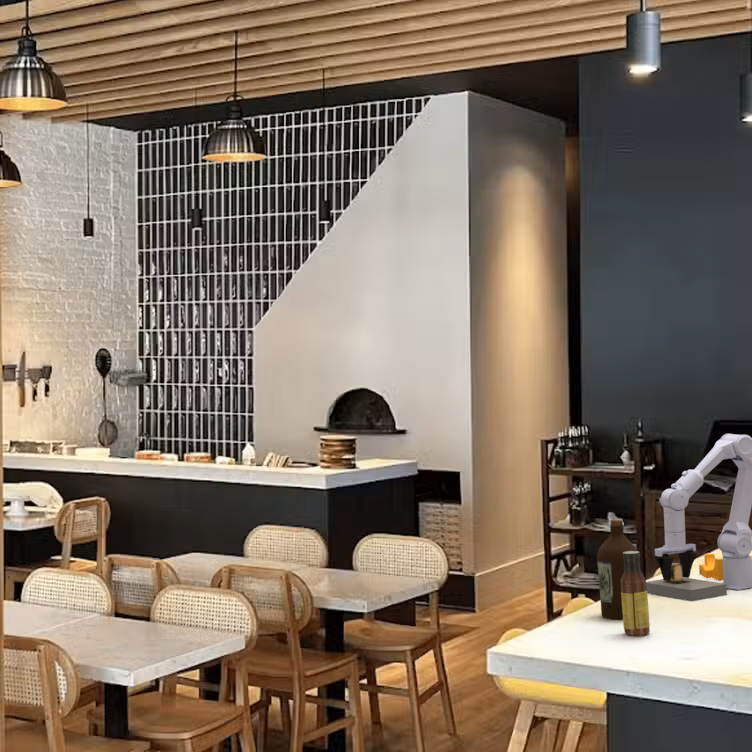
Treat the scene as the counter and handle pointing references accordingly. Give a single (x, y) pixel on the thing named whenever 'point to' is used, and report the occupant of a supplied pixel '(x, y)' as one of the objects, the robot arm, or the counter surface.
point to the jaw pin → (676, 573)
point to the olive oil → (612, 570)
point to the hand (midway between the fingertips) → (676, 578)
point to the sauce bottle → (634, 596)
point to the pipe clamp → (712, 567)
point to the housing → (687, 589)
